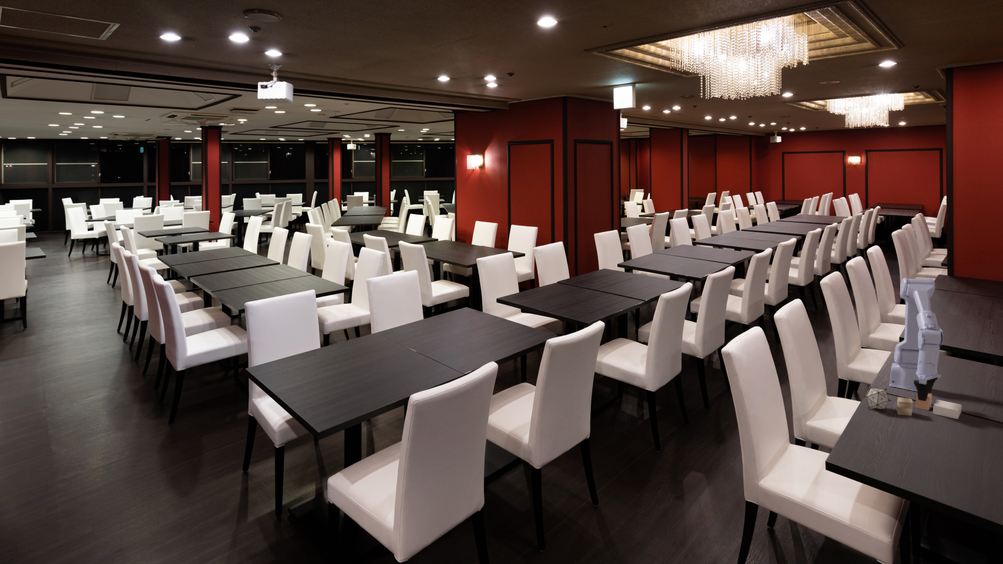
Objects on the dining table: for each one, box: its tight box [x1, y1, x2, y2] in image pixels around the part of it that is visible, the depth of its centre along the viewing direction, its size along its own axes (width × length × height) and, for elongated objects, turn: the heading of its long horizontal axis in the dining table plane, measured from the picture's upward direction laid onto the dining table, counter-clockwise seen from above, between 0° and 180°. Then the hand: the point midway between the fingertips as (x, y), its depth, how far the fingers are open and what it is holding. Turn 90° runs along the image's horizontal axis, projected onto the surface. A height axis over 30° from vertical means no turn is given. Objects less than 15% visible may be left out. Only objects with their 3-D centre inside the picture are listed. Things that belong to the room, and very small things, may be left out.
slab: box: [932, 399, 963, 420], centre depth 198 cm, size 7×7×3 cm
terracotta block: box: [914, 393, 933, 411], centre depth 203 cm, size 4×4×5 cm
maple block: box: [896, 396, 914, 417], centre depth 199 cm, size 4×4×5 cm
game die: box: [863, 385, 893, 412], centre depth 203 cm, size 9×8×10 cm
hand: (924, 397), depth 203 cm, fingers open, 7 cm apart
